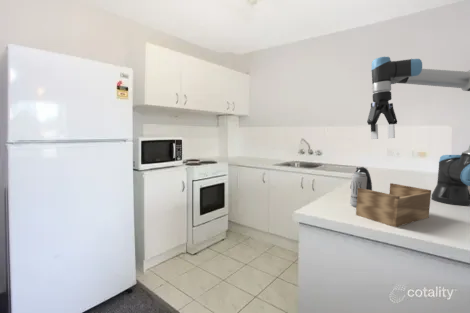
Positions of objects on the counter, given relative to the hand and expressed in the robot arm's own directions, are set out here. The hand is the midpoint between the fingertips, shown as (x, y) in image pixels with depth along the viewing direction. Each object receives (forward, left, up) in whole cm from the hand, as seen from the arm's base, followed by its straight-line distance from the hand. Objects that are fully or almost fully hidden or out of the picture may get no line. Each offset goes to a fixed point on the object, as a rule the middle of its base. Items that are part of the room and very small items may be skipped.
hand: (383, 138), depth 118 cm
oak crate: (+2, +21, -30) cm, 37 cm away
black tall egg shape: (+4, -12, -31) cm, 33 cm away
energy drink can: (+12, +9, -31) cm, 34 cm away
